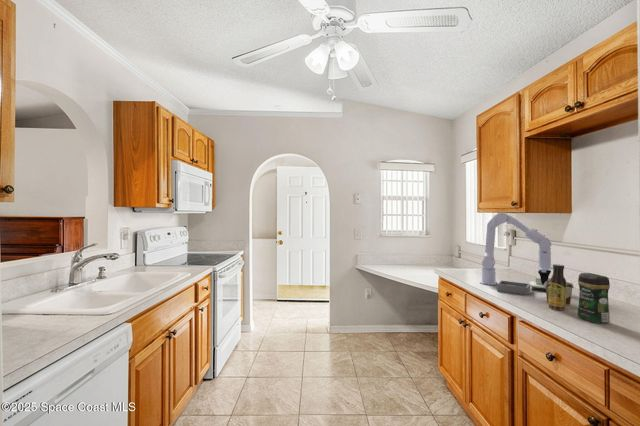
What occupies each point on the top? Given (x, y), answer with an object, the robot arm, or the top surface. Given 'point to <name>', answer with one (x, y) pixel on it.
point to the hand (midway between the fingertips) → (544, 283)
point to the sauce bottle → (557, 288)
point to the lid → (537, 283)
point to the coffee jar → (593, 298)
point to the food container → (568, 291)
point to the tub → (514, 287)
